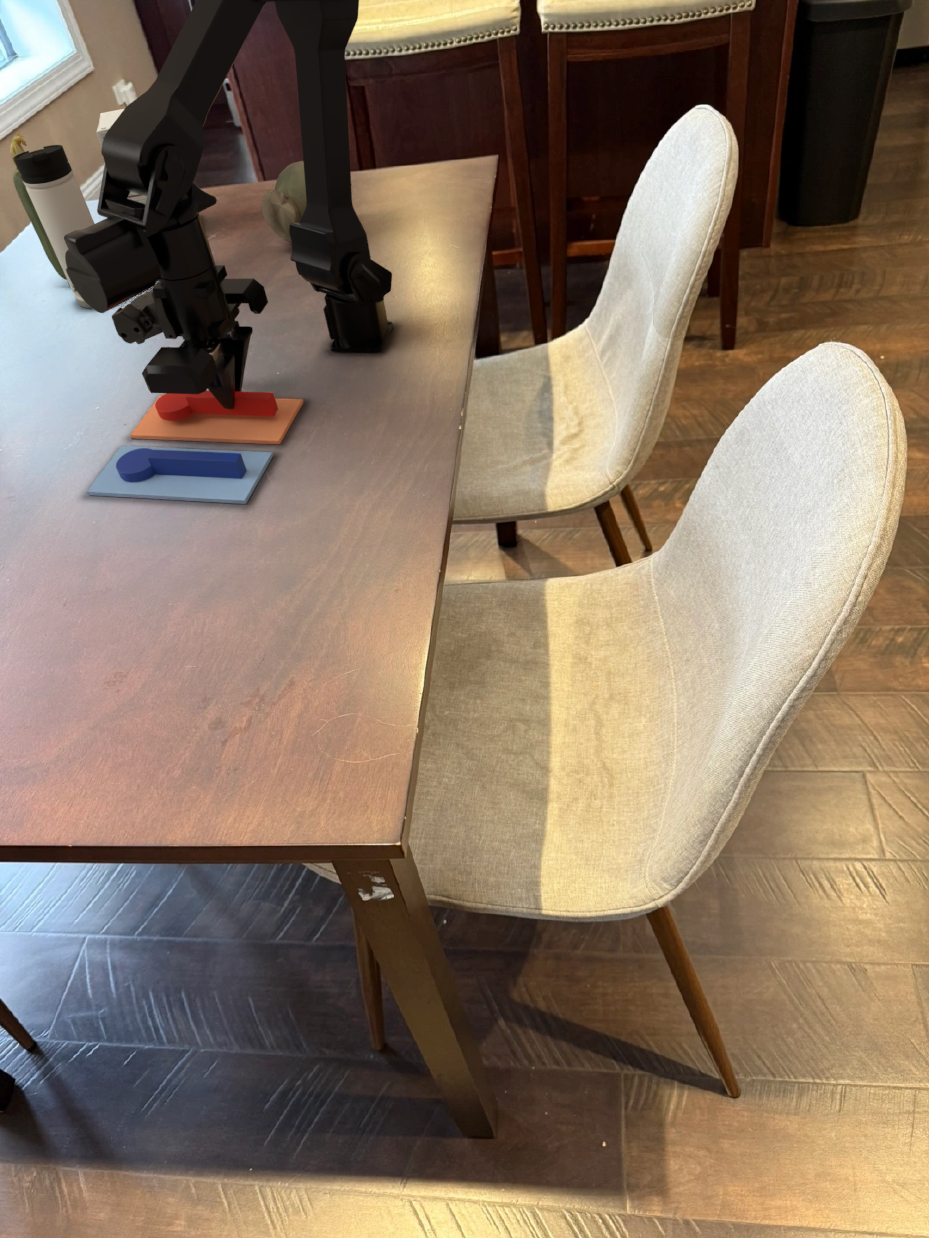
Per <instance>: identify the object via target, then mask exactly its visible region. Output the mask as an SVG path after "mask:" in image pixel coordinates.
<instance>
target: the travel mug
mask: <svg viewBox="0 0 929 1238" xmlns="http://www.w3.org/2000/svg"><path fill="white" fill-rule="evenodd" d="M13 160H14V162H15V164H16V165H15V167H16V166H17V169H18V171H19V173H20V174H21V177H22V180H23V183H24V185H25V186H26V190H27V192H28V194H29V196H30V198H31V201H32V203H33V205H34V207H35V209H36V212H37V214H38V216H39V218H40V220H41V223H42V225H43V227H44V229H45V232H46V234H47V236H48V238H49V240H50V243H51V245H52V247H53V249H54V251H55V254H56V256H57V258H58V260H59V262H60V265H61V267H62V269H63V271H64V274H65V276H66V278H67V280H68V281H67V280H66V281H67V282H68V284H69V287H70V289H71V291H72V293H73V295H74V298H75V300H76V302H77V304H78V306H80V307H81V308H84V309H92V308H91V307H90V306H89V305H88V304H87V303H86V302H85V301H84V300H83V298H82V297H81V296H80V295H79V293H78V292H77V290H76V289H75V287H74V286H73V284H72V282H71V280H70V278H69V276H68V274H67V272H66V269H67V265H66V260H65V254H66V252H67V250H69V249H68V247H67V245H66V243H65V240H64V236H65V235H66V234H68V233H70V232H73V231H75V230H80V229H85V228H87V227H89V226H91V225H93V224H95V222H94V218H93V217H92V214H91V212H90V208H89V207H88V204H87V202H86V200H85V199H86V198H85V197H84V194H83V192H82V189H81V187H80V185H79V182H78V179H77V177H76V174H74V170H73V168H72V166H71V164H70V162H69V159H68V156H67V154H66V152H65V149H64V147H63V145H62V144H51V145H46V146H42V148H41V149H40V148H39V149H36V150H33V151H29V150H27V151H25V152H23V153H21V154H18V155H16V156H15V157H14V158H13Z"/></svg>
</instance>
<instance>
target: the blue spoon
mask: <svg viewBox="0 0 929 1238" xmlns="http://www.w3.org/2000/svg"><path fill="white" fill-rule="evenodd" d="M116 469H117V471H118V473H119V475H120V477H121V478H122V479H123V480H124V481H127V482H140V481H144V480H147V479H149V478H151V477H152V476H154V475H155V474H158V475H179V476H199V477H219V478H239V479H242V478H243V476H244V474H245V473H246V471H247V470H246V467H245V464H244V461H243V458H242V456H241V453H219V452H196V451H172V450H152V449H148V448H140V449H135V450H132V451H130V452H127V453H126V454H124V455H123V456H121V457H120V458H119V459H118V461H117V463H116Z"/></svg>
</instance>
